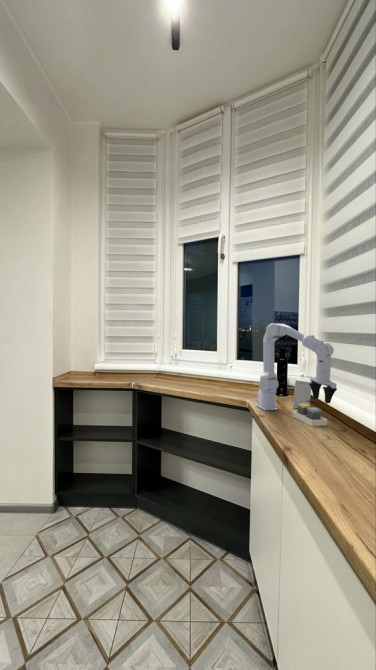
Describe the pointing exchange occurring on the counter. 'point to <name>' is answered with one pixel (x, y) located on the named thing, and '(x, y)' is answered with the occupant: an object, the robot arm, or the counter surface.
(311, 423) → the rack
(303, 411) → the ochre plug
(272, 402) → the robot arm
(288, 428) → the counter surface
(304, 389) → the skincare box
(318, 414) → the blue plug
